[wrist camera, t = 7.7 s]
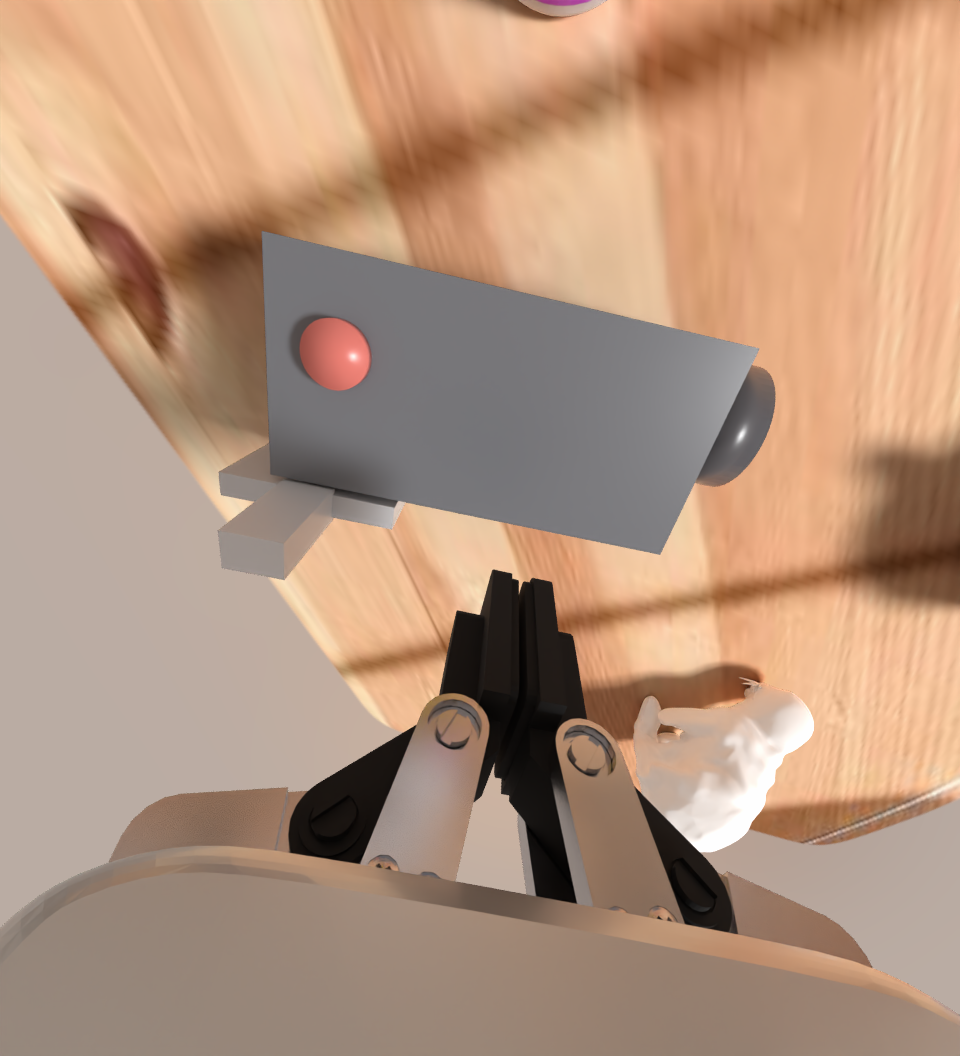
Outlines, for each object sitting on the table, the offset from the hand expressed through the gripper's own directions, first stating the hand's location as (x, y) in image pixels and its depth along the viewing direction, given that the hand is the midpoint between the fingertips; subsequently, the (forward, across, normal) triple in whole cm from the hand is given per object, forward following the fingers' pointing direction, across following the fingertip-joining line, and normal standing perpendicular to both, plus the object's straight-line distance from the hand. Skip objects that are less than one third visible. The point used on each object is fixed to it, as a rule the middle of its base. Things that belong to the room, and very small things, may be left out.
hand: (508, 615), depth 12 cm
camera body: (+13, +1, -3) cm, 13 cm away
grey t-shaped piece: (+12, +8, +1) cm, 15 cm away
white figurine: (+13, -18, +16) cm, 27 cm away
